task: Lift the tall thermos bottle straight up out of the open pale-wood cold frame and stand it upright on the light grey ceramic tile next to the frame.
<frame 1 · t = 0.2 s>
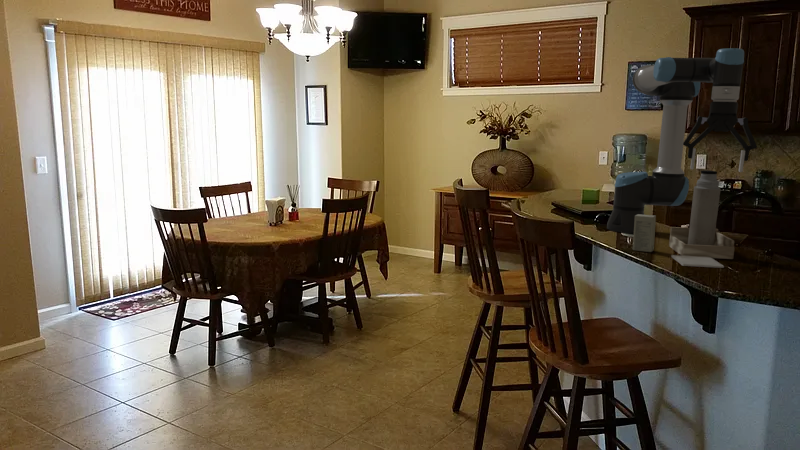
hand: (715, 170, 188), 29 cm above the counter, tool pointing down, fingers open, 13 cm apart
cold frame: (699, 252, 206), on the counter
ceramic tile: (696, 262, 192), on the counter
skincare box: (642, 250, 207), on the counter
thermos bottle: (699, 252, 206), resting in cold frame
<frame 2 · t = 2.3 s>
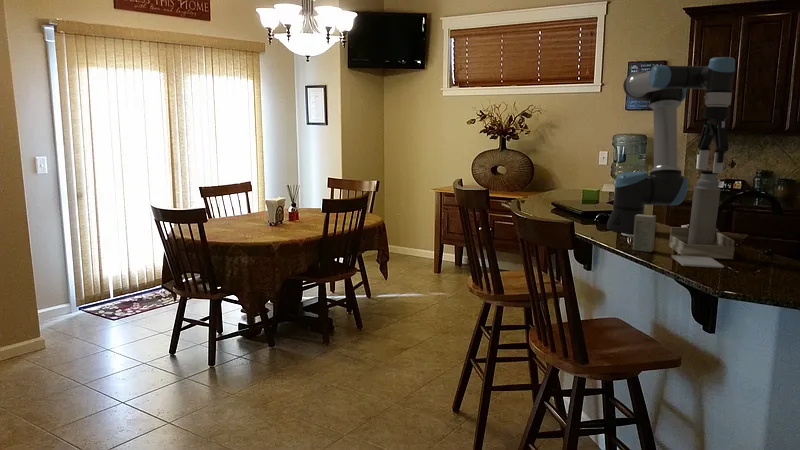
hand: (709, 171, 200), 28 cm above the counter, tool pointing down, fingers open, 13 cm apart
nothing on the counter moved.
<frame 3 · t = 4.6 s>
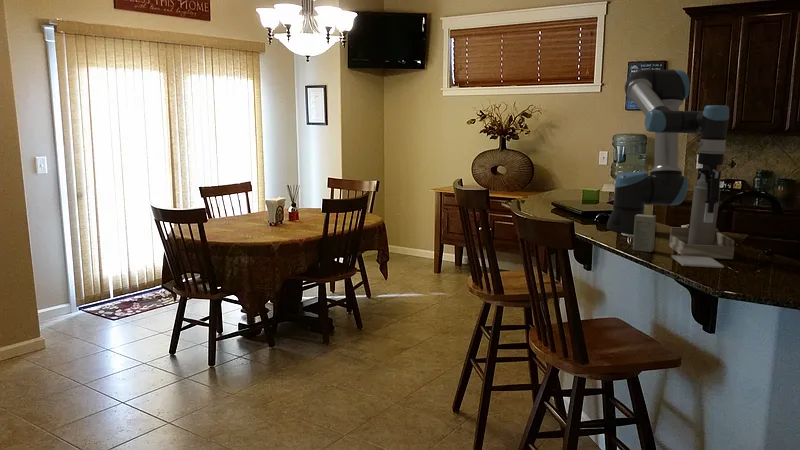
hand: (703, 220, 204), 11 cm above the counter, tool pointing down, fingers closed on thermos bottle, 8 cm apart
thermos bottle: (699, 252, 206), resting in cold frame, touching gripper
everything else where it was.
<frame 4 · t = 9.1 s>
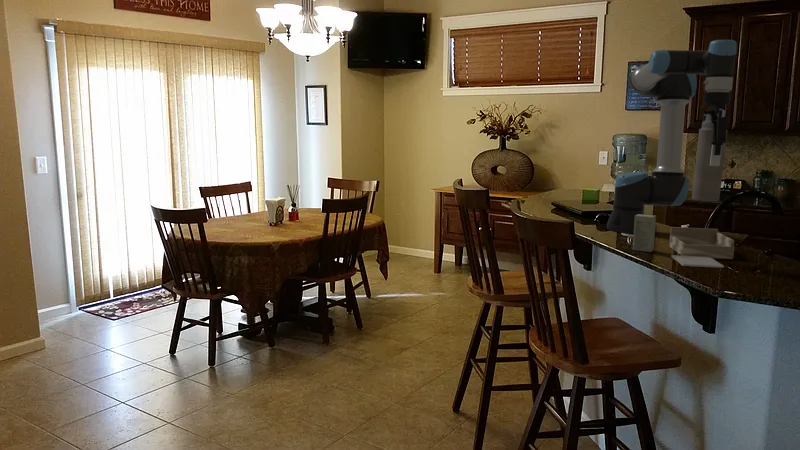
hand: (709, 164, 192), 31 cm above the counter, tool pointing down, fingers closed on thermos bottle, 8 cm apart
thermos bottle: (705, 200, 194), point 19 cm above the counter, touching gripper
everything else where it was.
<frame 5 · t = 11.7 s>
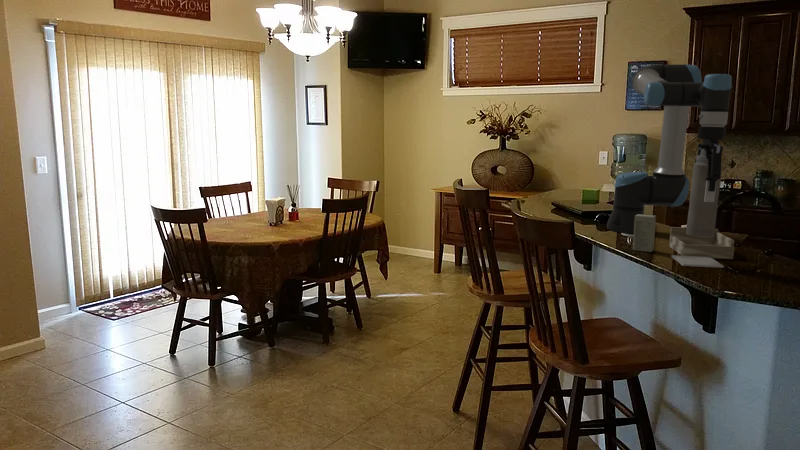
hand: (703, 199, 188), 20 cm above the counter, tool pointing down, fingers closed on thermos bottle, 8 cm apart
thermos bottle: (699, 235, 190), point 9 cm above the counter, touching gripper
everything else where it was.
when the fingers open (13 cm above the counter, at t = 13.9 s): thermos bottle drops 1 cm, resting on ceramic tile.
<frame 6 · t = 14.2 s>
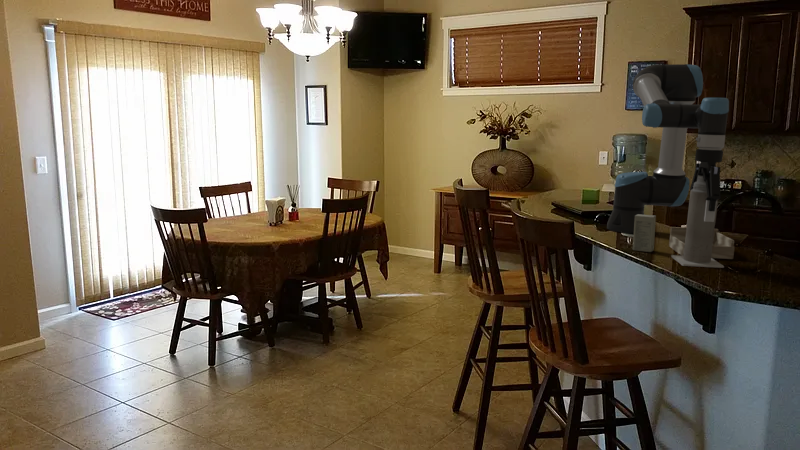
hand: (701, 218, 189), 14 cm above the counter, tool pointing down, fingers open, 12 cm apart
thermos bottle: (696, 260, 192), resting on ceramic tile
everything else where it was.
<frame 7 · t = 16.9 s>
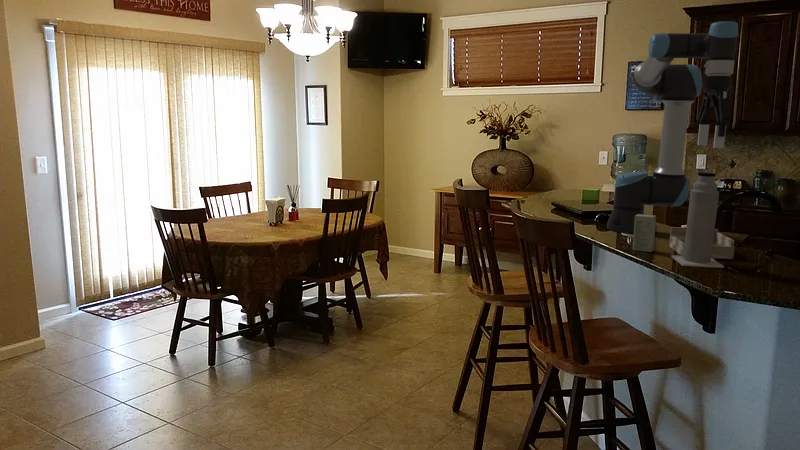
hand: (709, 146, 185), 37 cm above the counter, tool pointing down, fingers open, 13 cm apart
nothing on the counter moved.
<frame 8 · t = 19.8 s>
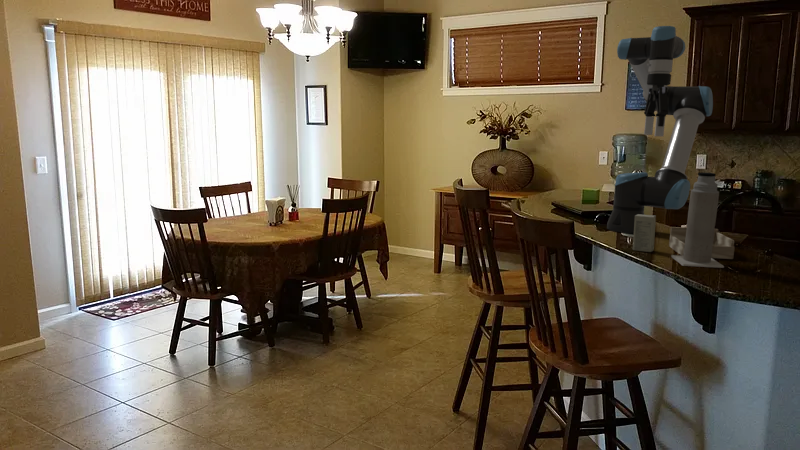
hand: (653, 135, 211), 39 cm above the counter, tool pointing down, fingers open, 13 cm apart
nothing on the counter moved.
at the end: thermos bottle inside the target area (0.1 cm from its centre), resting on ceramic tile; thermos bottle tilted 0°; the gripper is holding nothing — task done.
